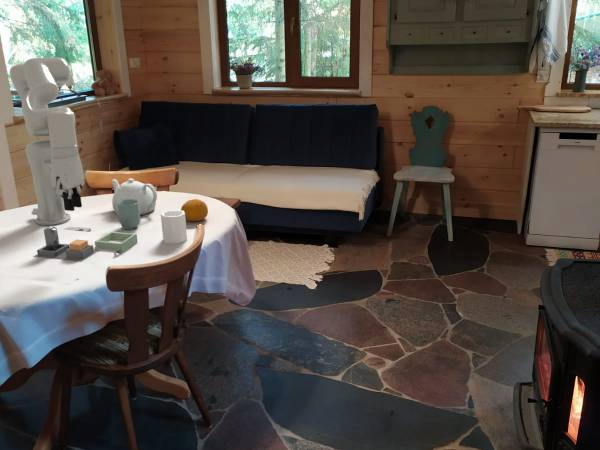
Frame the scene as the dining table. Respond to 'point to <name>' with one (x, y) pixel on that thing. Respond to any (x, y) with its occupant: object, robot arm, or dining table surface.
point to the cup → (129, 213)
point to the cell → (51, 238)
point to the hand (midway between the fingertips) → (73, 208)
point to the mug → (174, 226)
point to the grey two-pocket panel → (66, 253)
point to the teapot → (135, 194)
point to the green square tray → (121, 247)
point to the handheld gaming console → (78, 229)
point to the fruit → (195, 210)
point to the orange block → (78, 245)
